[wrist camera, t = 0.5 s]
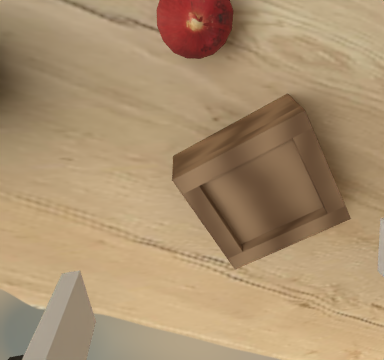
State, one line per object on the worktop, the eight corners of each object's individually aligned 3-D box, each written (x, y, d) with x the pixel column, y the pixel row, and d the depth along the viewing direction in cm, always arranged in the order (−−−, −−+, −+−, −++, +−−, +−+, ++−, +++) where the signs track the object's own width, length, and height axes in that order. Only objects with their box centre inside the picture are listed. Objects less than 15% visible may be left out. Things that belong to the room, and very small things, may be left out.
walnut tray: (287, 93, 33) (304, 110, 28) (330, 191, 38) (350, 218, 34) (173, 156, 36) (172, 180, 31) (229, 238, 41) (235, 269, 37)
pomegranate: (229, -23, 28) (245, -28, 21) (225, 51, 31) (238, 69, 24) (158, -24, 28) (151, -29, 21) (160, 50, 30) (155, 68, 24)
